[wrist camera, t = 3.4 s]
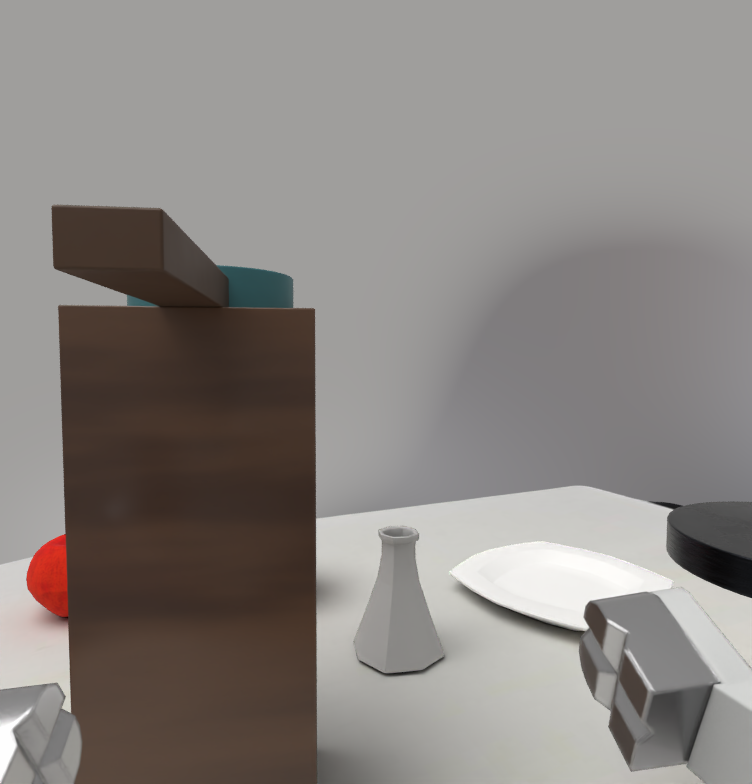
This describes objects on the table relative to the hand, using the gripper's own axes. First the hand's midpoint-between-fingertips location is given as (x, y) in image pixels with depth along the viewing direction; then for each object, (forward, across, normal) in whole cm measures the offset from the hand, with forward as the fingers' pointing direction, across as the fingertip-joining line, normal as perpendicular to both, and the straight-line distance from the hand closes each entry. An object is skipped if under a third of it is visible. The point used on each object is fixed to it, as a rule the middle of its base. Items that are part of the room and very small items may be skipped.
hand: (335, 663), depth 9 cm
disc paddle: (+17, -5, +1) cm, 18 cm away
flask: (+25, +3, -33) cm, 41 cm away
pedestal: (+11, -8, -25) cm, 28 cm away
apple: (+35, -26, -34) cm, 55 cm away
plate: (+33, +21, -38) cm, 55 cm away
